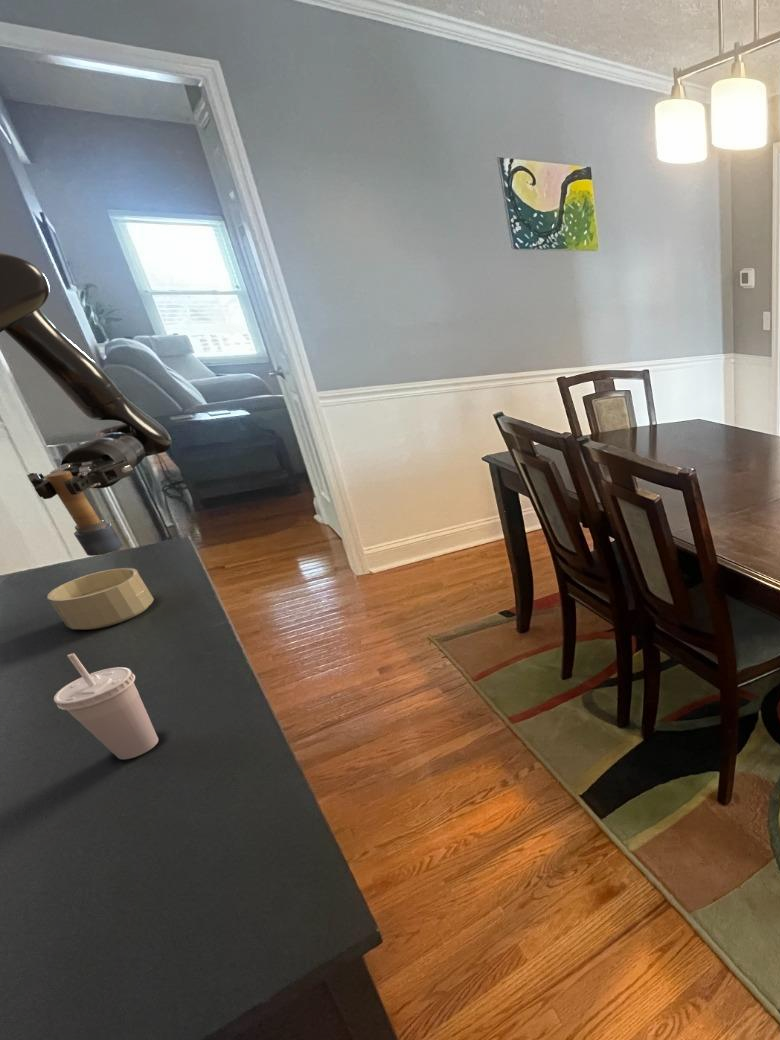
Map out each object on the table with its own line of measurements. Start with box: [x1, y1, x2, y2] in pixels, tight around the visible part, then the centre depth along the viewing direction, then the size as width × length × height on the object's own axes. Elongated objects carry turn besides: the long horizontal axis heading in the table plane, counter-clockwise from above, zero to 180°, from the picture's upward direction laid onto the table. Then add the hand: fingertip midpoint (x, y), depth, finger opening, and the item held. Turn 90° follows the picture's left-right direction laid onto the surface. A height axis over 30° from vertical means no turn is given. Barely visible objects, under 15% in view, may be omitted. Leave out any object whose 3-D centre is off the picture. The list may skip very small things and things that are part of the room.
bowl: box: [46, 567, 155, 631], centre depth 98 cm, size 11×11×6 cm
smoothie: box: [53, 652, 159, 760], centre depth 68 cm, size 6×6×14 cm
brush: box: [45, 471, 124, 557], centre depth 100 cm, size 5×5×14 cm
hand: (57, 490), depth 96 cm, fingers closed on brush, 3 cm apart
